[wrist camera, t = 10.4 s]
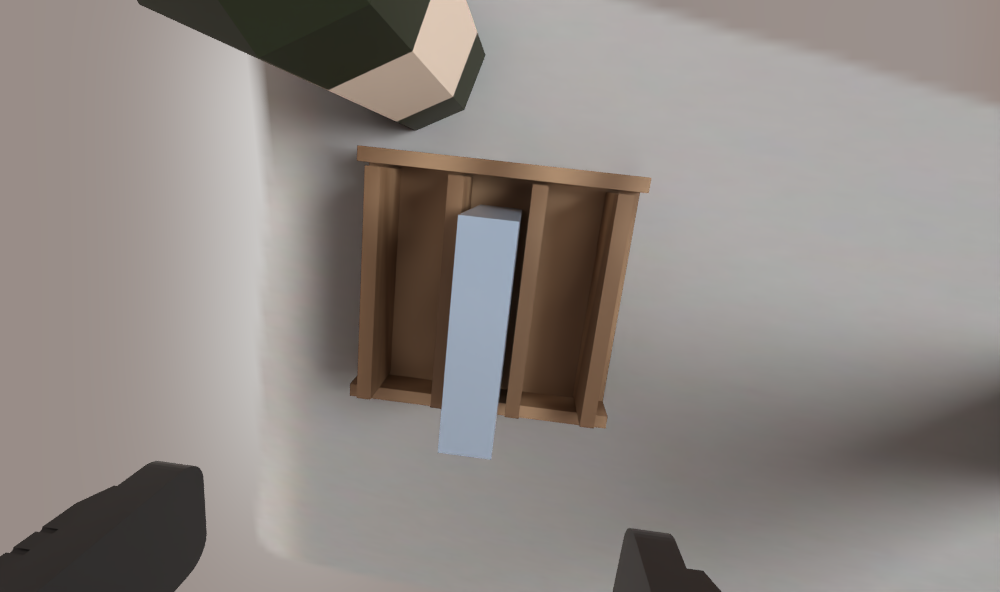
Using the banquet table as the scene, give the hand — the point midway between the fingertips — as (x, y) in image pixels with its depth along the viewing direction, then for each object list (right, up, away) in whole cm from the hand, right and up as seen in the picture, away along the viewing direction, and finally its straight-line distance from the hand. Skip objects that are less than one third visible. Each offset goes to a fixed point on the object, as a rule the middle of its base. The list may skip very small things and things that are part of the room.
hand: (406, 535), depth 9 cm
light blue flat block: (+1, +4, +20) cm, 21 cm away
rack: (+1, +5, +21) cm, 22 cm away
